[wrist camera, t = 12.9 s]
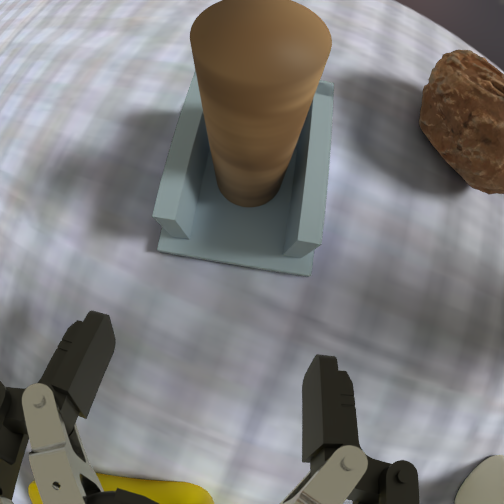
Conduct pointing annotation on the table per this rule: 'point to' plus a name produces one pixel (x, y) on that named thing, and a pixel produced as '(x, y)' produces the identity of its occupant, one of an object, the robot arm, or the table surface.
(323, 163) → the slate bracket
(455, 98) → the decorative rock
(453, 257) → the table surface
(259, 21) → the walnut peg
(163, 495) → the element tile
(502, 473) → the milk bottle
